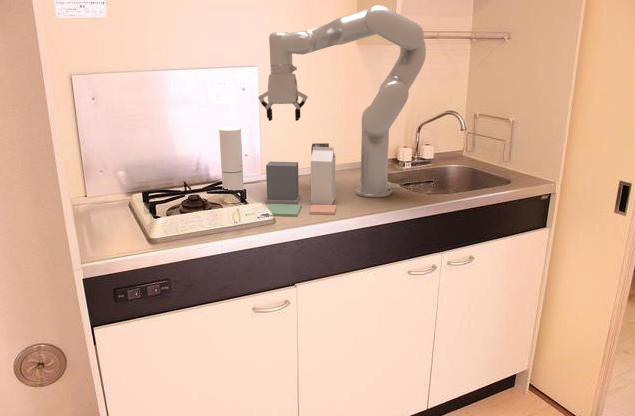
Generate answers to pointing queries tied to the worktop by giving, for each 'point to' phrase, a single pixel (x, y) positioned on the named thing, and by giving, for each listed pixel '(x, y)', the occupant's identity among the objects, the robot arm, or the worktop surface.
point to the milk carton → (323, 175)
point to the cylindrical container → (231, 159)
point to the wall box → (282, 183)
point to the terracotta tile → (323, 209)
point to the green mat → (284, 209)
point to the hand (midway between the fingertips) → (283, 120)
